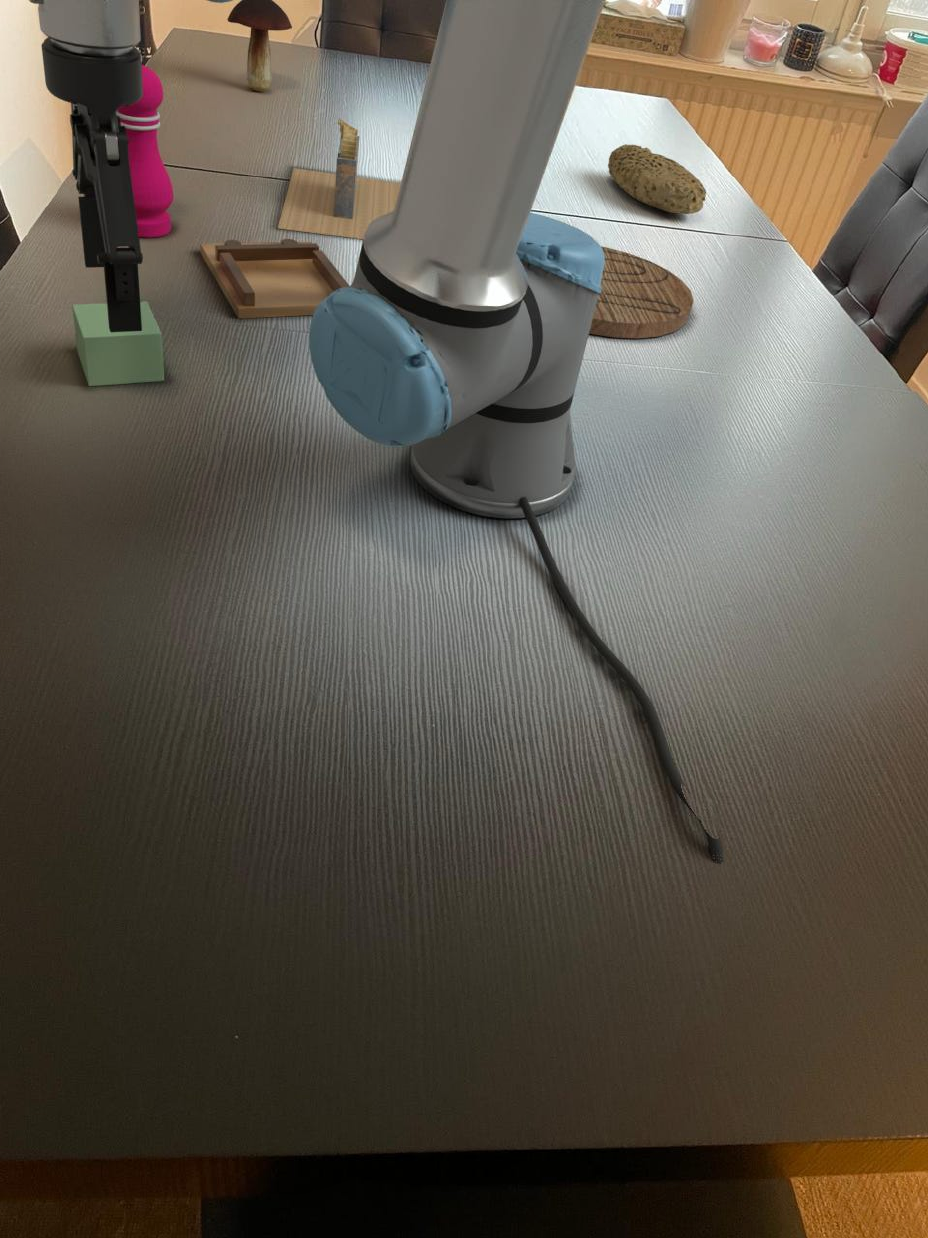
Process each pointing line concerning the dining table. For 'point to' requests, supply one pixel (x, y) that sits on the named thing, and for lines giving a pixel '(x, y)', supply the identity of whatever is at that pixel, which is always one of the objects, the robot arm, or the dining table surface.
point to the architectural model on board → (337, 196)
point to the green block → (117, 347)
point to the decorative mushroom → (259, 36)
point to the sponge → (656, 180)
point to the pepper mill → (147, 159)
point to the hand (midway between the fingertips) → (112, 296)
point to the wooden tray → (272, 276)
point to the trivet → (639, 298)
